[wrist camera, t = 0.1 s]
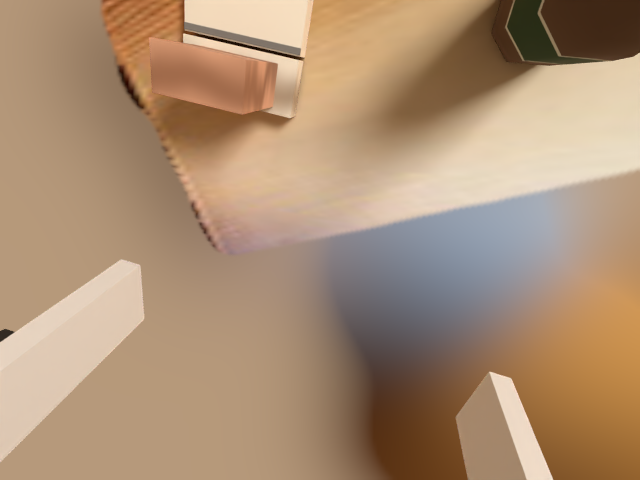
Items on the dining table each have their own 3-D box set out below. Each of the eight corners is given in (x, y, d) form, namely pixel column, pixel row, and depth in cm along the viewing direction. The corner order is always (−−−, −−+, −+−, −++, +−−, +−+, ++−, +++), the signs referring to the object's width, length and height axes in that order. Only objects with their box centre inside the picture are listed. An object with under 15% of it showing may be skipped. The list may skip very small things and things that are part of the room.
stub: (193, 35, 33) (124, 20, 24) (303, 61, 32) (272, 54, 23) (193, 91, 36) (131, 95, 27) (295, 116, 35) (264, 129, 26)
